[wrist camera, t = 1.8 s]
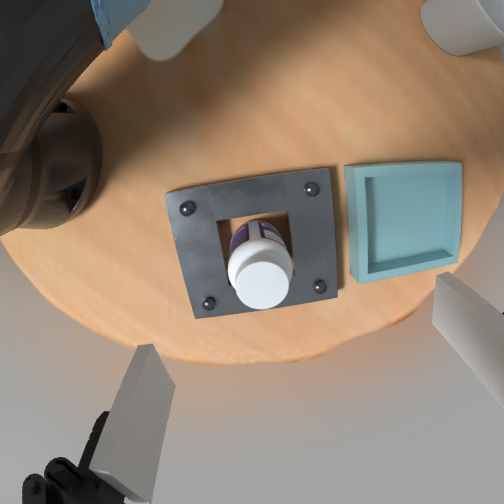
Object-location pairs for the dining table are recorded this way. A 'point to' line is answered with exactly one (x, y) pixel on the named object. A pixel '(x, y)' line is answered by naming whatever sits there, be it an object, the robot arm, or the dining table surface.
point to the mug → (464, 24)
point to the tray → (402, 217)
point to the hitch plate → (245, 204)
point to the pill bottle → (259, 265)
